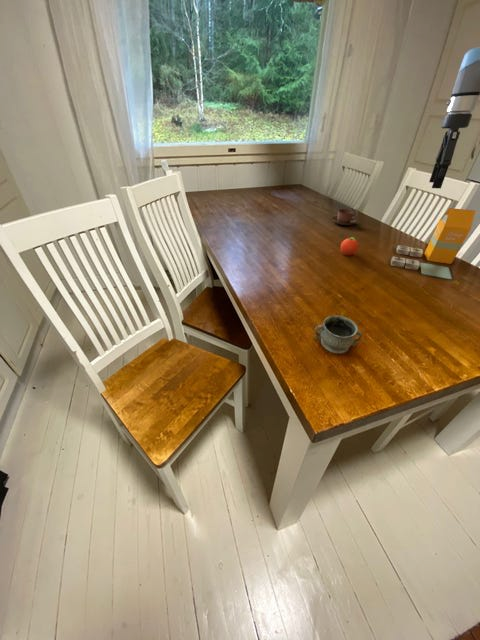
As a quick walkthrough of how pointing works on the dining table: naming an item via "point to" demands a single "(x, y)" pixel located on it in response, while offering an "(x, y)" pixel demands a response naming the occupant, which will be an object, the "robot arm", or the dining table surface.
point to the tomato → (349, 246)
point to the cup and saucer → (345, 217)
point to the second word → (422, 267)
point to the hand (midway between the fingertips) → (434, 185)
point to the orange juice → (449, 235)
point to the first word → (409, 251)
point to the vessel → (338, 334)
